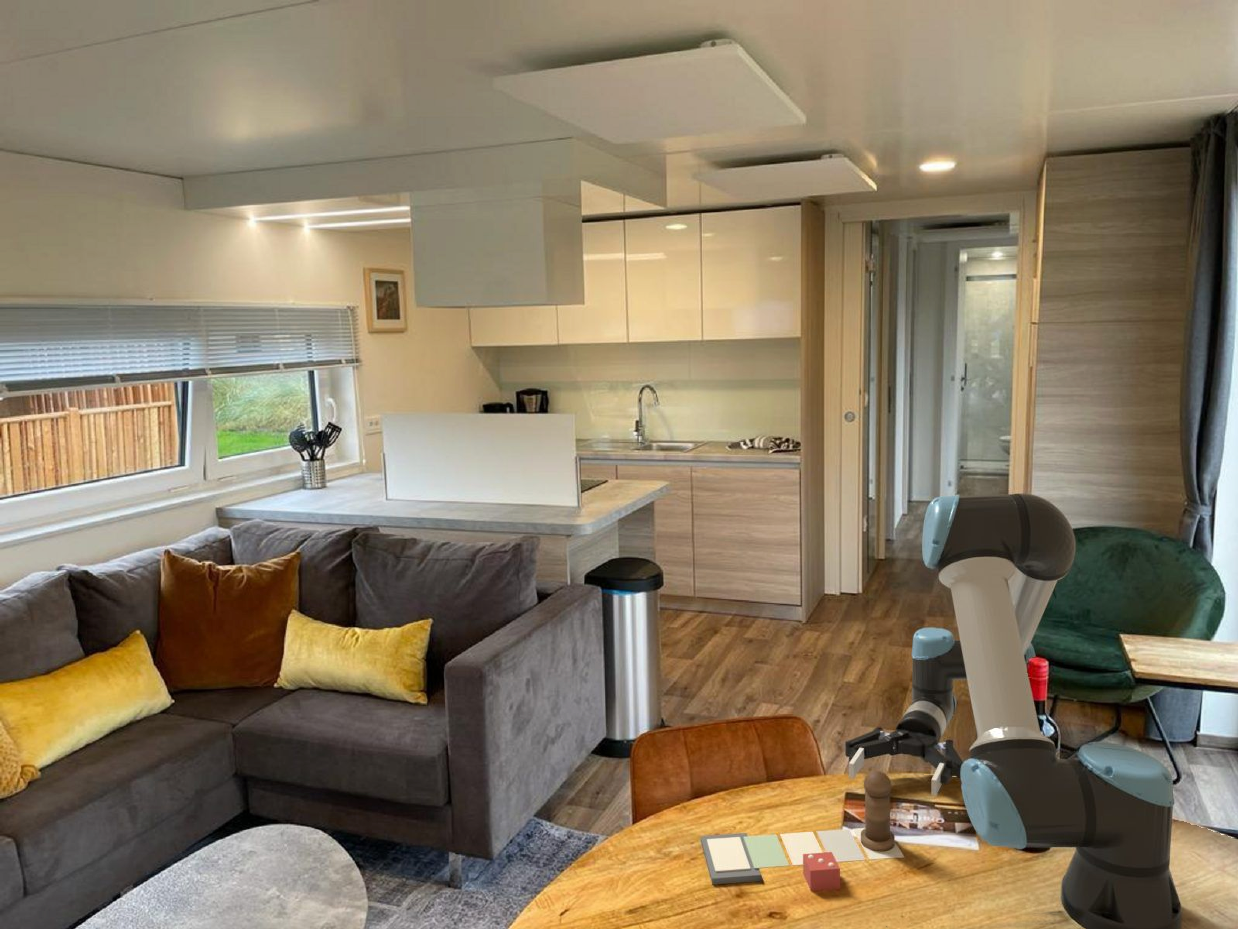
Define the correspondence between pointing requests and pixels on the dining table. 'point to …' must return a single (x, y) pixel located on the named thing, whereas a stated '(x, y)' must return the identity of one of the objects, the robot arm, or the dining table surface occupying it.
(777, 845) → the game board
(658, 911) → the dining table surface
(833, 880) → the red die
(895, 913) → the dining table surface
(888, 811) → the pawn
